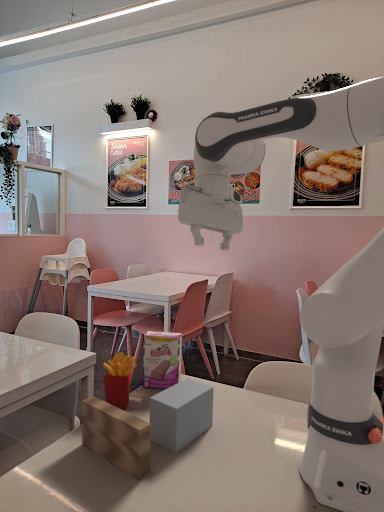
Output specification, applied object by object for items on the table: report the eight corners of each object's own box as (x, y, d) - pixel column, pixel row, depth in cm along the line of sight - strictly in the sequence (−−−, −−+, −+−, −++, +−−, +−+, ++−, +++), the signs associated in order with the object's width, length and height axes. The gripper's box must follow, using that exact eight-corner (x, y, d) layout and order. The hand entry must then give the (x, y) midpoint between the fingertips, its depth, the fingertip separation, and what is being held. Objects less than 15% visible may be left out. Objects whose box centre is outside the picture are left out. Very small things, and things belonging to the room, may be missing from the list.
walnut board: (150, 471, 72) (150, 423, 71) (139, 480, 70) (139, 430, 69) (93, 438, 83) (93, 396, 82) (82, 444, 80) (82, 400, 80)
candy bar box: (142, 388, 109) (142, 335, 108) (145, 381, 114) (146, 330, 113) (178, 391, 108) (180, 337, 107) (181, 383, 113) (182, 332, 112)
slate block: (212, 426, 89) (213, 387, 89) (175, 453, 78) (176, 408, 78) (186, 415, 94) (187, 378, 93) (149, 439, 83) (149, 397, 82)
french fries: (102, 412, 94) (102, 356, 93) (109, 398, 102) (109, 346, 101) (135, 413, 94) (136, 357, 93) (140, 398, 102) (141, 347, 101)
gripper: (191, 178, 80) (191, 240, 78) (246, 198, 94) (247, 250, 92) (172, 185, 84) (171, 244, 82) (227, 203, 98) (228, 253, 96)
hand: (212, 247), depth 87 cm, fingers open, 8 cm apart
